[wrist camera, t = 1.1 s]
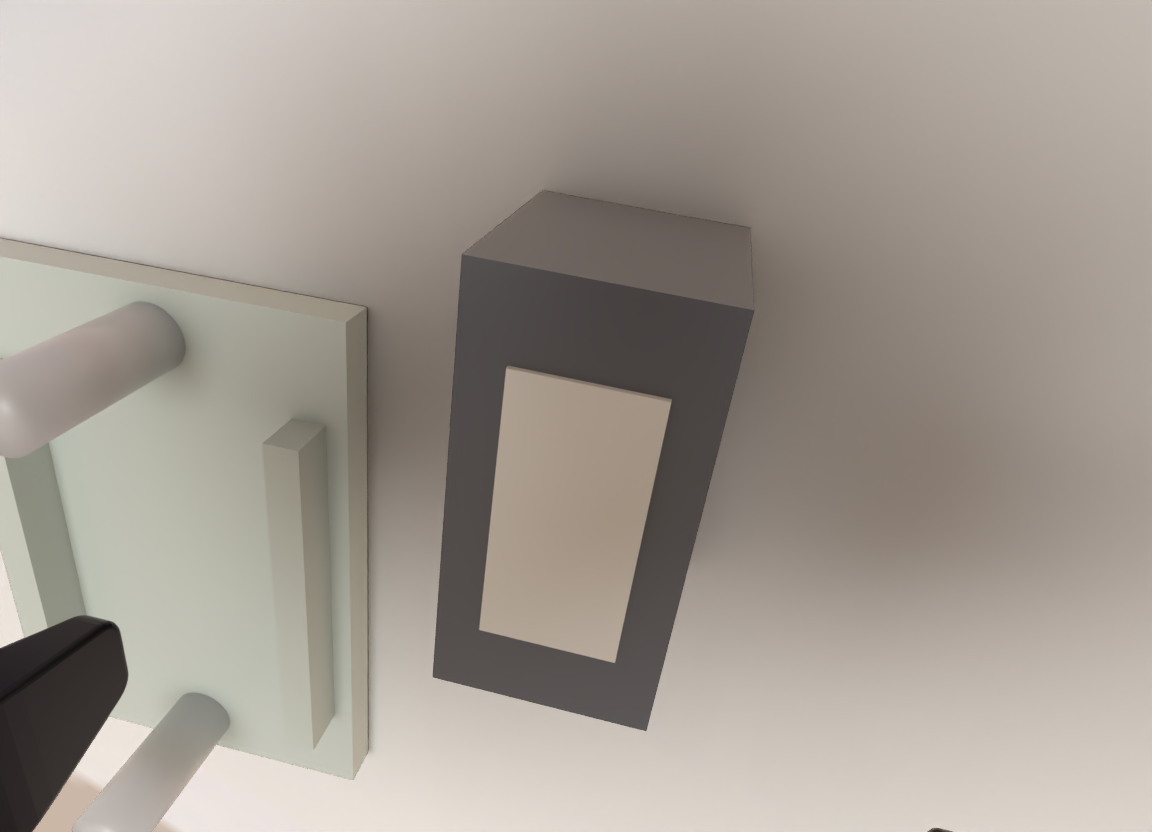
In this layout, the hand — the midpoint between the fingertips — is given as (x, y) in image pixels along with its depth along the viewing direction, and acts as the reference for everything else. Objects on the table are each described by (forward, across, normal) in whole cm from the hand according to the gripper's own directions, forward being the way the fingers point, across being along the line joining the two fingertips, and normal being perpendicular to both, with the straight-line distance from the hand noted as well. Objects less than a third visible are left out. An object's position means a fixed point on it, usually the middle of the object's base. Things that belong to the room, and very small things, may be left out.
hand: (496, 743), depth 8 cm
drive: (+9, 0, 0) cm, 9 cm away
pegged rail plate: (+9, +10, +6) cm, 15 cm away
